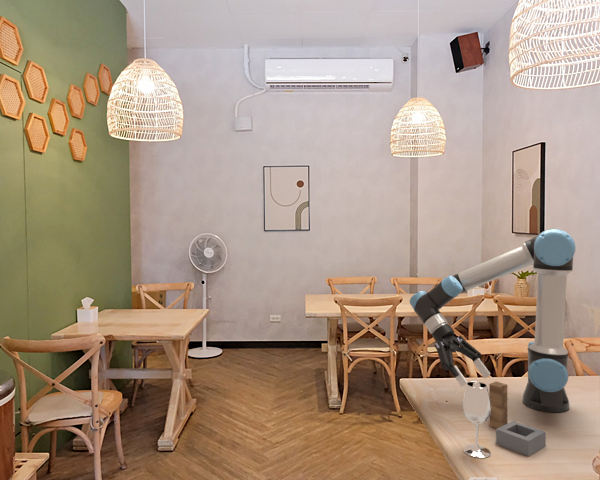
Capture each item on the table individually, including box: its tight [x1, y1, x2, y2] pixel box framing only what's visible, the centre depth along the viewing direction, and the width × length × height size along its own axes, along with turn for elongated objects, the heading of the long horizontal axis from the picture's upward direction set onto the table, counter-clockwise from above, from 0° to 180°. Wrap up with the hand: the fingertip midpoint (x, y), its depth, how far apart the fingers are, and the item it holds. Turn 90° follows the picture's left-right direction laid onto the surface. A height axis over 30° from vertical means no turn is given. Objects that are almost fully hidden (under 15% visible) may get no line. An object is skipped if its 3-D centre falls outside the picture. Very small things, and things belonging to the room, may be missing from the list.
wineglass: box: [462, 380, 492, 459], centre depth 136 cm, size 8×8×20 cm
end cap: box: [495, 420, 547, 457], centre depth 140 cm, size 10×10×4 cm
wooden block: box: [488, 381, 508, 429], centre depth 153 cm, size 4×4×14 cm
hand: (476, 380), depth 159 cm, fingers open, 13 cm apart
